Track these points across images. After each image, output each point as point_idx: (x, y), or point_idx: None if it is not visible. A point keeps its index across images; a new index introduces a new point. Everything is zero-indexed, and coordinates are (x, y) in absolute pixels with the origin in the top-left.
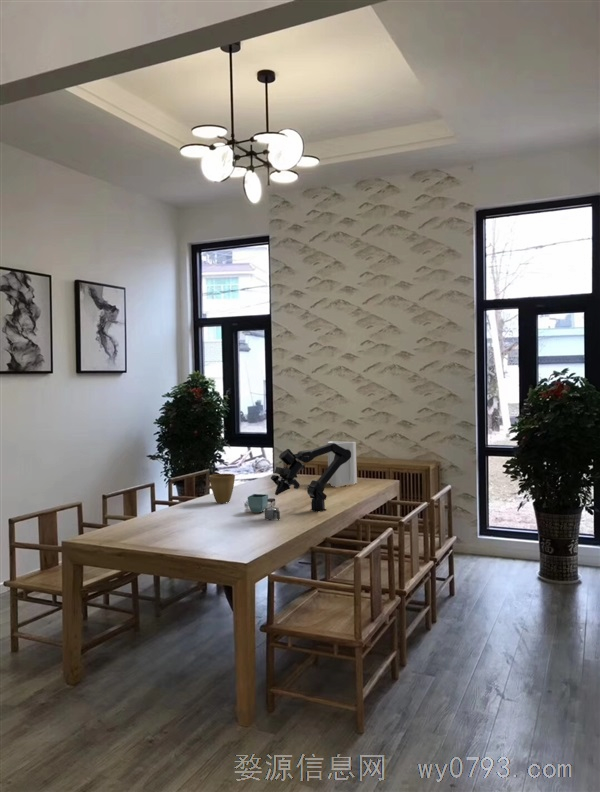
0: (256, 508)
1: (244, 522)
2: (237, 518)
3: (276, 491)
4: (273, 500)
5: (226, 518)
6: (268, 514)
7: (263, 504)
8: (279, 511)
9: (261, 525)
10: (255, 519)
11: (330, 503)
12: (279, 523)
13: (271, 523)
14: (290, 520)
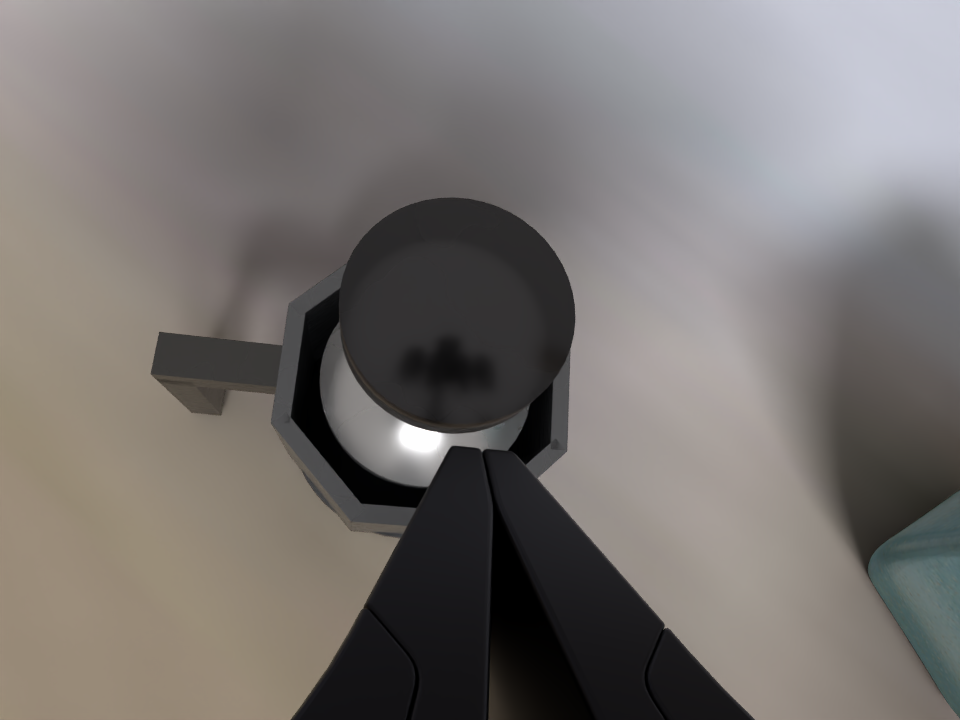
0: (952, 496)
1: (530, 34)
2: (796, 138)
3: (495, 501)
4: (340, 295)
5: (886, 67)
6: None
7: (948, 602)
8: (152, 370)
9: (187, 28)
10: (567, 231)
11: None
12: (30, 257)
13: (152, 187)
14: (13, 535)
